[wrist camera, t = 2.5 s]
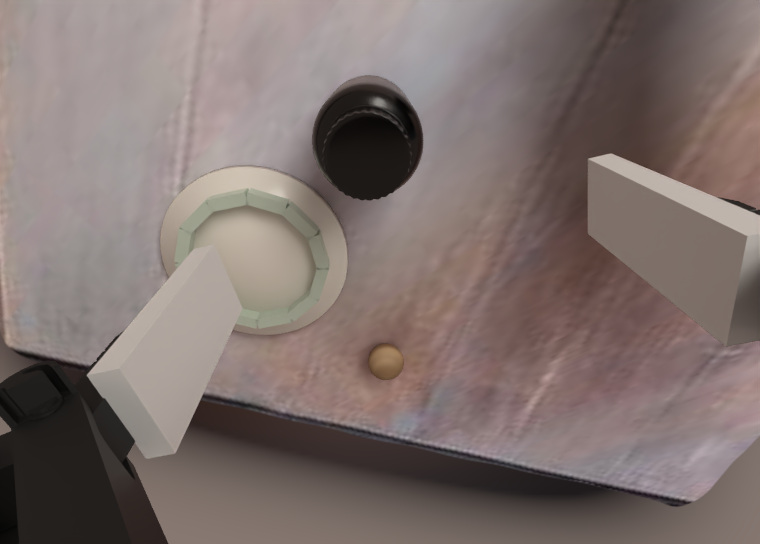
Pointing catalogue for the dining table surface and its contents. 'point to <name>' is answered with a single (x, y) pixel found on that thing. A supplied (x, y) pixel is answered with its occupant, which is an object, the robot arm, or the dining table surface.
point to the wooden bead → (385, 361)
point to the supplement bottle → (367, 138)
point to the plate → (262, 244)
